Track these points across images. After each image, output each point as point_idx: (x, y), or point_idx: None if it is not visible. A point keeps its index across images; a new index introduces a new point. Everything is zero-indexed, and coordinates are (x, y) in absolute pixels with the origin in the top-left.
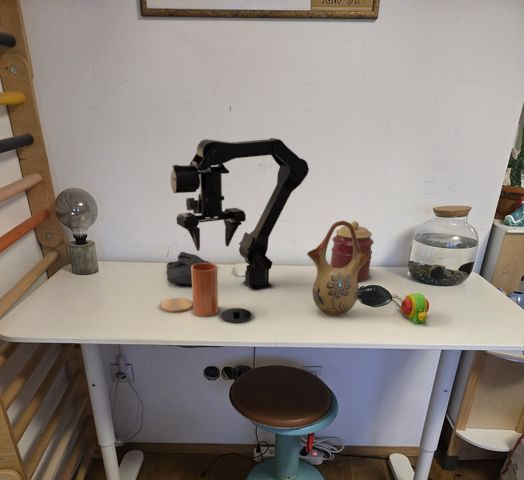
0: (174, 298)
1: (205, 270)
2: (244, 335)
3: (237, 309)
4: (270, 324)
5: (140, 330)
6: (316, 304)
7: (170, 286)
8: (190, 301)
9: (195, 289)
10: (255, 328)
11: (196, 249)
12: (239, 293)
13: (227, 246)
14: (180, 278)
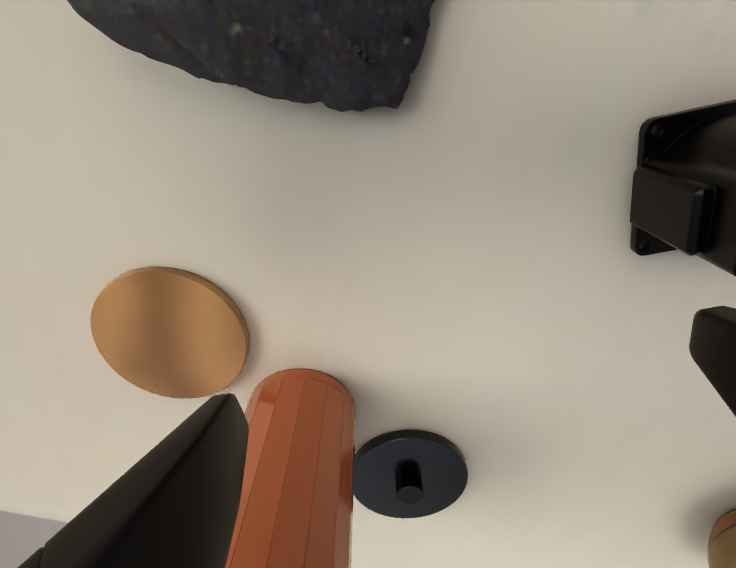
0: (156, 273)
1: (282, 562)
2: (385, 564)
3: (417, 491)
4: (494, 534)
5: (49, 480)
6: (711, 562)
7: None
8: (241, 329)
9: None
10: (435, 543)
11: (211, 401)
12: (528, 270)
13: (695, 347)
14: (172, 41)
